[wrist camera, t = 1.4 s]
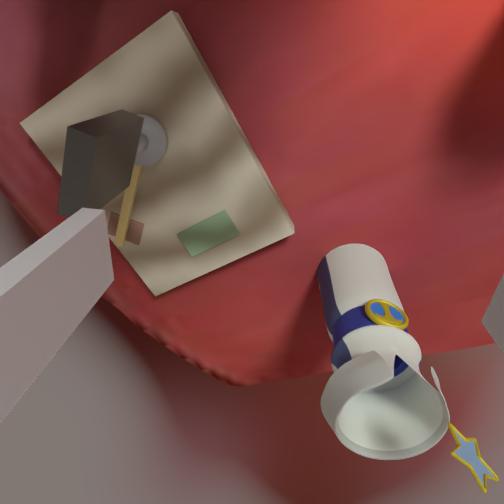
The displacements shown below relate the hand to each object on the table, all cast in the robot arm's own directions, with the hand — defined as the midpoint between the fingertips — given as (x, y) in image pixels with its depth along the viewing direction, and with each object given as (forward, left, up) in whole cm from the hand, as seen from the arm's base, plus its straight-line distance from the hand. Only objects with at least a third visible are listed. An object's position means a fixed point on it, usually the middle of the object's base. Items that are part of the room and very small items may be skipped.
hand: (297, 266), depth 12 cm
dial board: (-2, -13, -26) cm, 29 cm away
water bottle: (+17, -1, -26) cm, 31 cm away
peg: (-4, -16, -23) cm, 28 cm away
